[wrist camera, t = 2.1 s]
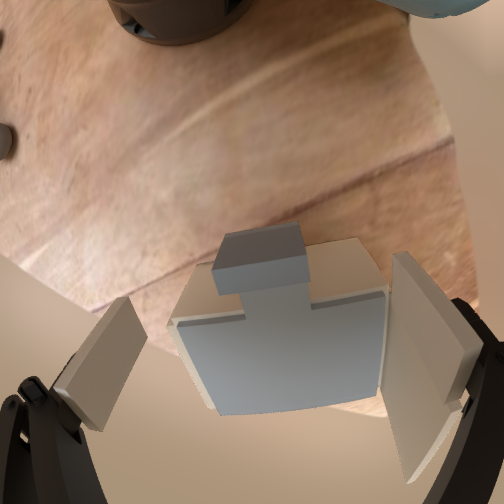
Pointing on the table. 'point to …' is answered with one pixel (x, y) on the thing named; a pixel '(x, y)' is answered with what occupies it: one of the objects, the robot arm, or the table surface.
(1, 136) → the molecular model
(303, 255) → the flap
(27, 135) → the table surface
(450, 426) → the carton
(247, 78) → the table surface
